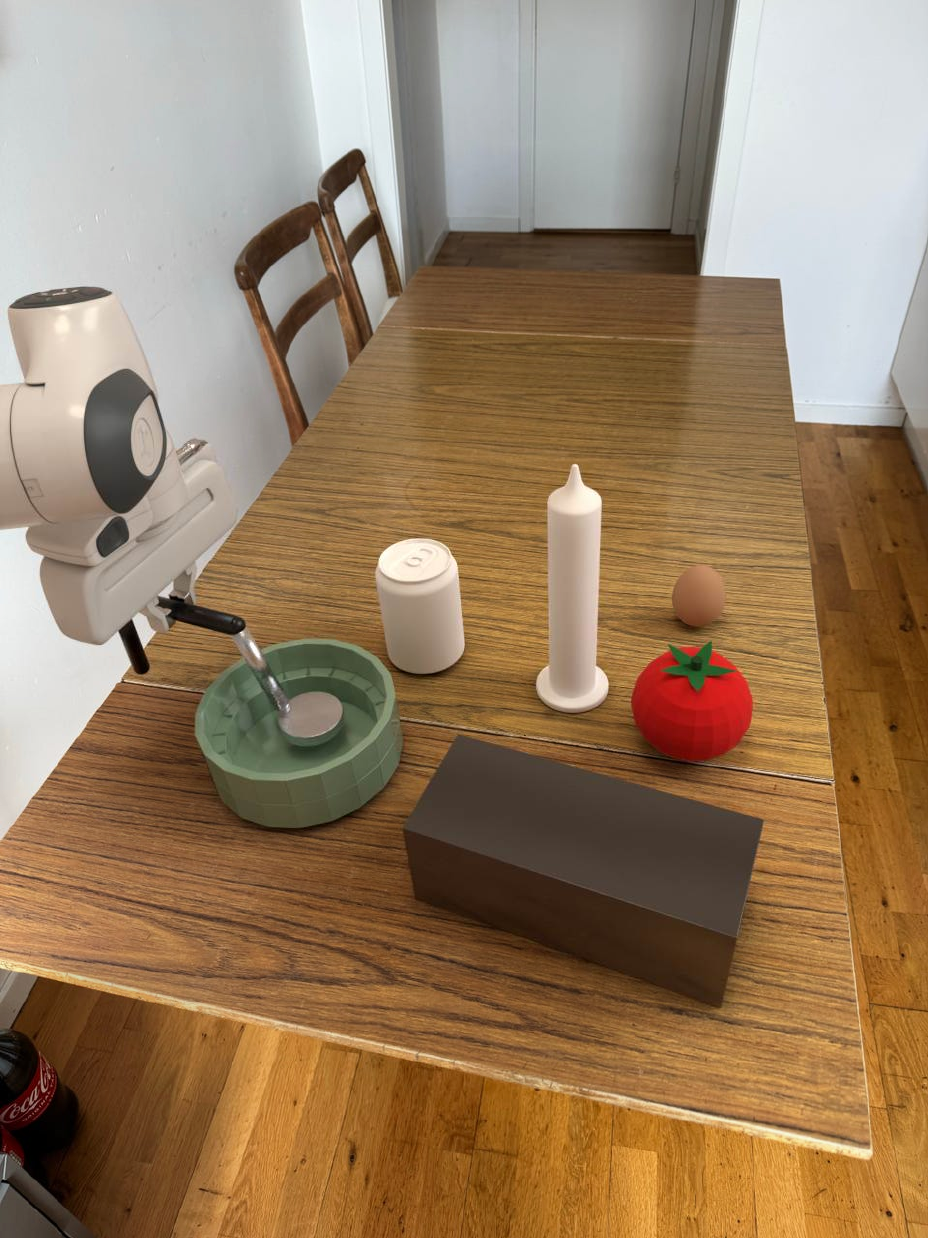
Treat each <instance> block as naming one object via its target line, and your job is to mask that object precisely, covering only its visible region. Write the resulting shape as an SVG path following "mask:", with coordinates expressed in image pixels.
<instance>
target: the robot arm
mask: <svg viewBox="0 0 928 1238" xmlns="http://www.w3.org/2000/svg"><path fill="white" fill-rule="evenodd" d="M7 318H8V323H9V324H8V325H9V329H10V334H11V337H12V341H13V345H14V349H15V352H16V353H15V354H16V356H17V360H18V363H19V366H20V369H21V373H22V376H23V378H24V379H23V380H24V382H16V383H8V384H7V383H6V384H0V531H5V530H14V529H21V528H22V529H23V528H27V529H26V532H25V541H26V543H27V545H28V548H29V549H30V551H32V552H33V553H35V554H38V555H40V556H43V557H42V560H41V561H40V565H39V580H40V584H41V588H42V591H43V594H44V597H45V600H46V602H47V605H48V608H49V610H50V612H51V615H52V617H53V619H54V622H55V624H56V626H57V627H58V629H59V631H60V632H61V633H62V634H63V635H64V636H65V637H67V638H69V639H71V640H74V641H76V642H80V643H82V644H83V643H84V644H88V645H93V646H103V645H104V644H106V643H107V642H108V641H110V640H111V638H113V637H114V635H116V634H117V633H119V632H118V631H119V630H120V629H121V628H122V627H123V626H124V625H125V624H126V623H128V622H129V621H130V620H131V619H132V620H133V618H134V617H136V616H137V615H138V614H140V615H143V616H144V617H146V619H147V622H148V625H149V627H150V628H151V630H152V631H154V632H155V633H156V632H157V633H161V634H166V633H167V632H168V631H170V629H171V628H172V627H173V626H174V625H176V622H177V621H175V619H174V618H173V617H174V616H173V612H172V610H171V609H167V608H164V609H163V608H162V607H159V606H156V605H157V604H158V603H159V601H158V598H157V595H158V596H159V595H160V593H162V592H163V591H164V590H165V589H166V588H167V587H169V585H170V584H172V586H173V587H172V590H170V592H169V593H167V596H168V598H169V599H173V600H177V601H181V602H185V603H189V604H193V605H197V603H198V599H197V597H196V593H195V590H194V589H195V586H196V578H197V571H198V567H197V564H196V563H197V562H196V561H197V560H198V559H199V558H200V557H201V556H203V554H205V553H206V552H207V551H208V550H209V549H210V548H211V547H213V546H214V545H215V544H216V543H217V542H218V541H219V540H220V539H221V538H222V537H223V536H224V535H225V534H227V532H229V531H230V530H231V529H232V528H233V527H234V526H235V525H236V523H237V520H238V511H239V509H238V505H237V502H236V499H235V497H234V494H233V491H232V489H231V486H230V484H229V482H228V479H227V477H226V474H225V473H224V471H223V469H222V468H221V466H220V464H218V460H217V457H216V453H215V450H214V447H213V445H212V444H211V443H209V442H208V441H207V440H205V439H202V438H201V439H198V438H197V437H193V438H191V439H189V440H187V441H186V442H184V443H183V445H182V446H181V447H180V448H178V449H177V450H176V448H175V445H174V441H173V438H172V436H171V434H170V432H169V431H168V429H167V428H166V426H165V422H164V420H163V416H162V412H161V409H160V407H159V393H158V390H157V386H156V382H155V380H154V376H153V373H152V370H151V368H150V365H149V362H148V360H147V356H146V355H145V351H144V349H143V346H142V344H141V342H140V341H141V340H140V339H139V337H138V334H137V332H136V330H135V327H134V325H133V324H132V321H131V319H130V317H129V315H128V313H127V311H126V309H125V307H124V305H123V304H122V302H121V300H120V299H119V297H118V296H117V294H116V293H114V292H113V291H111V290H108V289H105V288H103V287H99V286H85V285H84V286H74V287H64V288H55V289H50V290H45V291H37V292H34V293H33V292H32V293H29V294H27V295H23V296H21V297H19V298H17V299H16V300H15V301H13V303H10V305H9V306H8V307H7ZM154 605H155V606H154Z"/></svg>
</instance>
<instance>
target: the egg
mask: <svg viewBox="0 0 928 1238" xmlns="http://www.w3.org/2000/svg"><path fill="white" fill-rule="evenodd" d="M726 591H727V590H726V587H725V584H724V581H723V579H722V577H721V576H720V574H719V573H718V572H717V571H716V570H715V569H714V568H712V567H710V566H707V565H705V564H696V565H694V566H691V567H688V568H687V569H686V570H684V571H683V572H682V573H681V574H680V576H679V577H678V578H677V580H676V581H675V584H674V586H673V589H672V592H671V593H672V594H671V602H672V603H671V604H672V609H673V611H674V613H675V615H676V616H677V618H679V619H680V621H682V622H683V623H684V624H685V625H688V626H690V627H694V628H700V627H701V628H702V627H706V626H708V625H711V624H712V623H714V622H715V621H717V620H718V618H719V617H720V616H721V615H722V613H723V611H724V609H725V605H726V601H727V592H726Z"/></svg>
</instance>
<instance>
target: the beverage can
mask: <svg viewBox="0 0 928 1238" xmlns="http://www.w3.org/2000/svg"><path fill="white" fill-rule="evenodd" d="M374 578H375V584H376V591H377V597H378V603H379V608H380V614H381V622H382V627H383V632H384V638H385V639H384V640H385V645H386V650H387V656H388V659H389V660H390V662H391V663H392V664H393V666H395V667H396V668H398V669H399V670H402V671H405V672H407V673H410V674H416V675H417V674H418V675H427V674H434V673H438V672H441V671H445V670H446V669H448V668H450V667H451V666H453V665H454V664H456V663H457V662H458V661H459V659H460V658H461V657H462V655H463V653H464V651H465V648H466V647H465V646H466V645H465V632H464V631H465V630H464V620H463V611H462V599H461V589H460V588H461V587H460V578H459V566H458V563H457V560H456V559H455V556H453V555H452V552H451V551H450V549H449V547H448V546H447V545H445V544H444V543H443V542H440V541H438V540H435V539H430V538H422V537H421V538H410V539H404V540H400V541H398V542H396V543H393V544H391V545H390V546H388V547H387V548H386V549H384V551H382V552H381V554H380V556H379V558H378V562H377V566H376V568H375V572H374Z"/></svg>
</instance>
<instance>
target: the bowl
mask: <svg viewBox="0 0 928 1238" xmlns="http://www.w3.org/2000/svg"><path fill="white" fill-rule="evenodd" d="M260 650H261V652H262V654H263V655H264V657H265V659H266V661H267V662H268V664H269V666H270V668H271V669H272V671H273V673H274V674H275V676H276V678H277V680H278V681H279V683H280V685H281V686H282V688H283V690H284V692H285V693H286V695H287V697H288V698H289V700H290V699H292V698H294V697H295V696H298V695H300V694H303V693H307V692H314V691H320V692H326V693H329V694H332V695H334V696H335V697H337V698H338V699H339V701H340V702H341V704H342V706H343V711H344V716H345V721H344V725H343V727H342V729H341V730H340V732H339V733H338V734H337V735H336V736H335V737H333V738H332V739H330V740H329V741H327V742H325V743H322V744H319V745H315V746H298V745H295V744H292V743H290V742H288V741H287V740H286V739H285V738H284V737H283V736H282V734H281V731H280V727H279V724H278V715H279V712H278V711H276V710H275V709H274V708H273V706H272V704H271V703H270V701H269V699H268V698H267V696H266V694H265V693H264V691H263V689H262V688H261V686H260V684H259V683H258V681H257V679H256V677H255V676H254V674H253V672H252V671H251V669H250V667H249V666H248V664H247V662H246V661H245V659H244V657H241V658H240V659H239V660H237V661H235V662H234V663H233V664H231V665H230V666H228V667H227V668H226V669H224V670H223V671H222V672H221V673H220V674H219V675H218V676H217V677H216V678H215V679H214V680H213V681H212V682H211V684H210V685H209V686H207V688H206V689H205V691H204V692H203V695H202V697H201V699H200V701H199V704H198V706H197V708H196V709H195V713H194V738H195V740H196V743H197V744H198V747H199V750H200V752H201V755H202V758H203V761H204V764H205V767H206V768H207V772H208V774H209V777H210V780H211V782H212V784H213V786H214V788H215V790H216V793H217V795H218V797H219V799H220V801H221V803H223V804H224V805H225V806H227V808H228V809H230V810H231V811H232V812H234V813H235V814H236V815H237V816H238V817H240V818H241V819H244V820H247V821H250V822H253V823H255V824H259V825H261V826H264V827H268V828H286V829H302V828H306V827H311V826H316V825H320V824H321V825H322V824H325V823H326V824H327V823H332V822H333V821H335V820H338V819H340V818H342V817H344V816H346V815H348V814H350V813H351V812H354V811H356V810H358V809H361V808H362V807H363V806H364V805H365V804H366V803H367V802H369V801H370V800H371V799H372V798H373V797H375V796H376V795H377V794H378V793H380V792H381V791H382V790H383V789H384V788H385V787H386V785H387V784H388V782H389V781H390V780H391V777H392V776H393V775H394V773H395V772H396V770H397V768H398V766H399V764H400V759H401V755H402V749H403V746H404V738H403V732H402V731H403V730H402V726H401V720H400V715H399V714H400V713H399V708H398V702H397V695H396V690H395V685H394V681H393V676H392V674H391V672H390V671H389V669H387V667H386V666H385V665H384V664H383V662H382V661H381V659H380V658H379V657H377V655H374V653H371V652H369V651H368V650H366V649H364V648H362V647H361V646H359V645H357V644H354V643H349V642H347V641H346V642H345V641H343V640H339V639H333V638H299V639H295V640H290V641H289V640H288V641H283V642H280V643H279V642H277V643H275V644H272V645H269V646H267V647H264V648H260Z"/></svg>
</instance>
